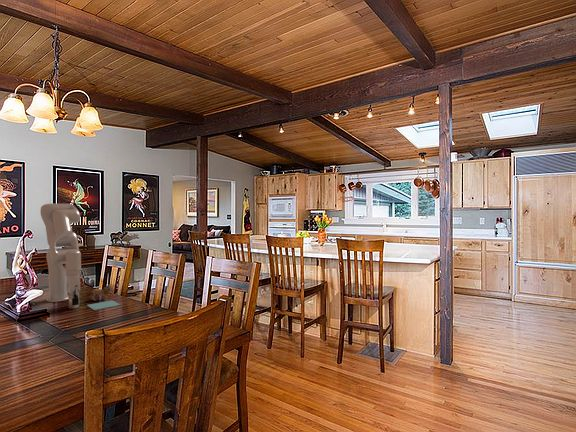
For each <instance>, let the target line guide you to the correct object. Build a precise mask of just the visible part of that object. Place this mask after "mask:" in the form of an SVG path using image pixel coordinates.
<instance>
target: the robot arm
mask: <svg viewBox="0 0 576 432" xmlns="http://www.w3.org/2000/svg"><path fill="white" fill-rule="evenodd" d="M39 213H40V216H41V220H42V222H43V224H44V226H45V230H46V231H45V232H46V240H47V245H48V246H49V247H48V250H49V251H47V253H46V262H47V266H48V267H47V268H48V297H47V298H46V300H45V301H46V302H48V303H55V302H56V303H57V302H62V301H69V293H70V294H72V295H73V298H72V305H73V306H74V305H79V306H80V292H81V278H80V277H81V275H82V253H81V251H80V248H79V242H78V236H77V234H76V233H75V232H74V231H73V228H72V224H77V223H78V224H79V222H80V221H81V213H80V211H79V210H78V209H77V207H76V206H75V205H73V204H72V203H45V204H43V205H41V206H40V212H39ZM63 247H65V248H63ZM67 247H68V248H67ZM63 265H65V266H63ZM78 290H79V291H78ZM74 292H75V293H74ZM74 294H75V295H74Z"/></svg>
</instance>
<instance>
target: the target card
mask: <svg viewBox="0 0 576 432" xmlns="http://www.w3.org/2000/svg"><path fill="white" fill-rule="evenodd" d="M86 306H87V307H88V308H90V309H91V310H93V311H98V310H103V309H109V308H113V307H118V306H121V303H118V302H116V301H114V300H105V301H101V302H95V303H90V304H86Z"/></svg>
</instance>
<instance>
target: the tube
mask: <svg viewBox="0 0 576 432" xmlns="http://www.w3.org/2000/svg"><path fill="white" fill-rule="evenodd" d="M78 291H79V290H78ZM74 293H75V292H74ZM68 295H69V299H68V308H69V309H76V308H79V307H80V304H79V305H74V306H73V305H72V298H73V295H72V294H70V293H69V292H68ZM74 295H75V294H74Z"/></svg>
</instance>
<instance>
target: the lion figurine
mask: <svg viewBox="0 0 576 432" xmlns="http://www.w3.org/2000/svg"><path fill="white" fill-rule="evenodd" d="M113 287H114V286H113V285H112V284H107V285H106V286H105V287H102V288H101V289H98V288H94V289H92V291H91V292H90V296H89V298H87V300H88V301H89V300H90V299H91V300H93V302H94V301H97V299H96V296H103V300H104V301H108V298H107V297H108V296H109V295H111V294H112V293H113V291H114V288H113Z"/></svg>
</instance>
